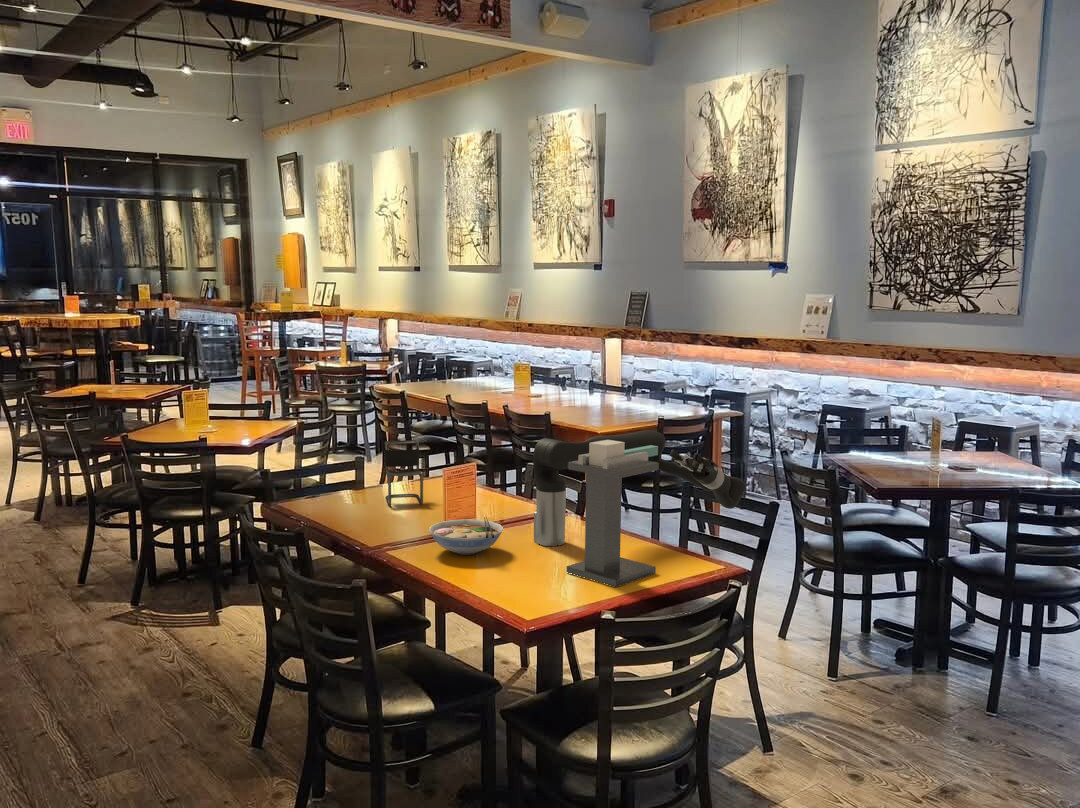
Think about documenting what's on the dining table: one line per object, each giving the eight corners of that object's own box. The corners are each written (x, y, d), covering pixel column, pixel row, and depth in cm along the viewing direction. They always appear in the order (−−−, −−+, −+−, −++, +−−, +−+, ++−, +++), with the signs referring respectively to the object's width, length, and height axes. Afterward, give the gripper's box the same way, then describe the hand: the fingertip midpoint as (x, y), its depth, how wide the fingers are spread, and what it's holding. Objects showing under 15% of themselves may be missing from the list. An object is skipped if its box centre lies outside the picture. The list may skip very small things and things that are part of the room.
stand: (566, 573, 260) (568, 453, 256) (606, 560, 273) (609, 446, 269) (615, 587, 248) (618, 462, 244) (655, 573, 261) (658, 454, 257)
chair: (418, 495, 357) (418, 439, 354) (423, 505, 340) (423, 447, 338) (384, 497, 354) (384, 440, 351) (388, 507, 337) (387, 448, 335)
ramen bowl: (429, 541, 292) (429, 516, 291) (501, 540, 294) (501, 515, 293) (427, 564, 267) (427, 536, 266) (505, 563, 270) (505, 535, 269)
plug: (589, 464, 254) (589, 442, 253) (646, 453, 273) (646, 433, 272) (605, 467, 250) (606, 445, 249) (662, 455, 268) (663, 435, 268)
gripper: (692, 460, 298) (667, 440, 287) (730, 466, 288) (706, 445, 277) (685, 481, 296) (660, 462, 285) (723, 488, 286) (698, 468, 275)
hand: (682, 454), depth 281 cm, fingers open, 8 cm apart
